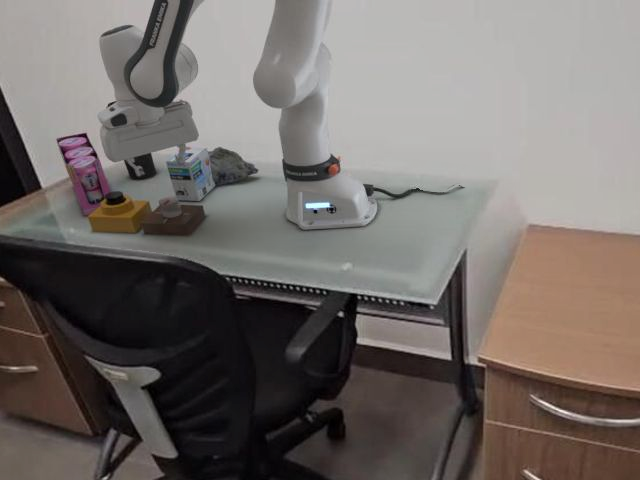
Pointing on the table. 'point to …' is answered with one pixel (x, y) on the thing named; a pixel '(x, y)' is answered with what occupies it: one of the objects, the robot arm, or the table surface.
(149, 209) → the control box
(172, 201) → the knob
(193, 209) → the dial panel
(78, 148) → the gum box
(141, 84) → the robot arm
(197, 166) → the light bulb box
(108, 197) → the button
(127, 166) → the travel mug
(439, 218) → the table surface
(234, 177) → the mineral rock
